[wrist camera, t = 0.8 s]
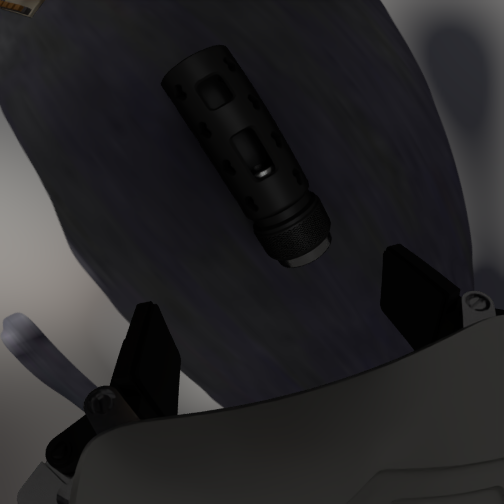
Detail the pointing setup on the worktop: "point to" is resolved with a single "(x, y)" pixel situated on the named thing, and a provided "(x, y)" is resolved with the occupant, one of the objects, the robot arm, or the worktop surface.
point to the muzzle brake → (250, 155)
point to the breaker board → (21, 6)
